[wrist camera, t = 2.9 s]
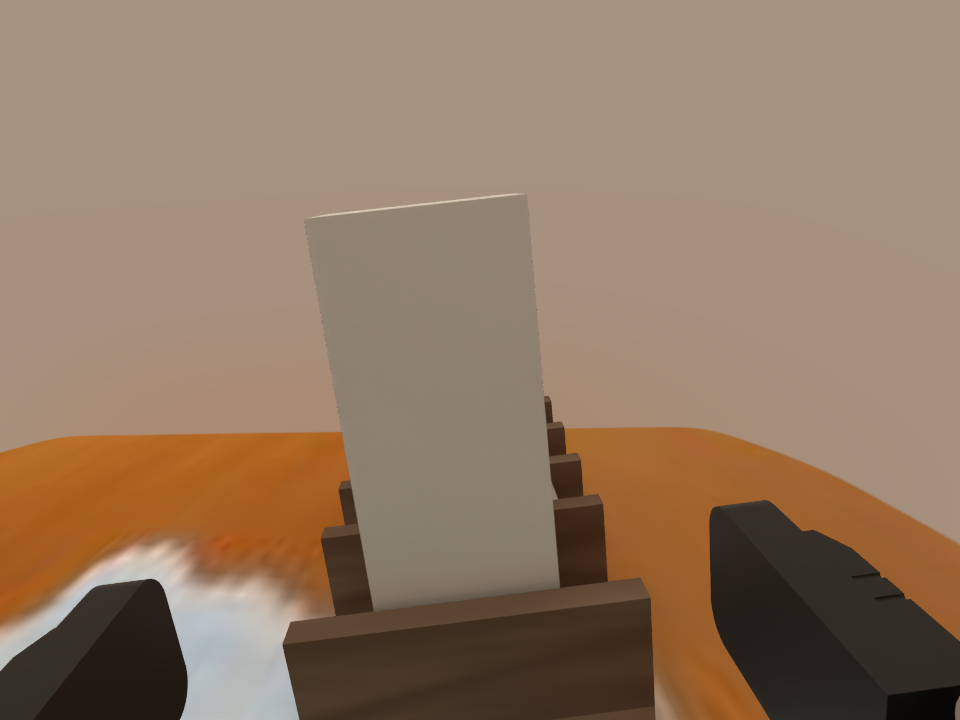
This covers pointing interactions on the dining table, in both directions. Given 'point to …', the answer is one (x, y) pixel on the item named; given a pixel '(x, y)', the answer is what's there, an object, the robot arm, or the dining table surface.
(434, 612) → the rack
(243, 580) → the dining table surface
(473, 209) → the beige tall block
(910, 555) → the dining table surface
